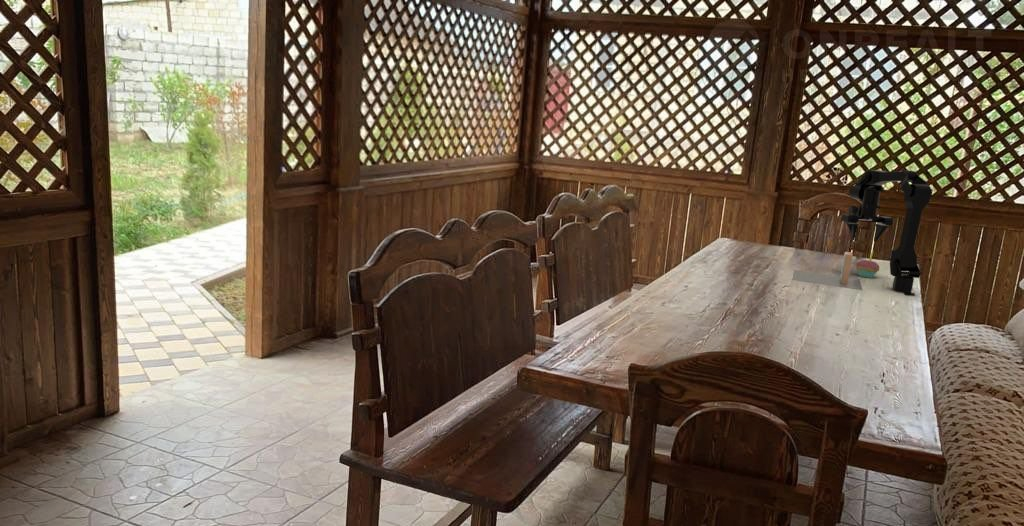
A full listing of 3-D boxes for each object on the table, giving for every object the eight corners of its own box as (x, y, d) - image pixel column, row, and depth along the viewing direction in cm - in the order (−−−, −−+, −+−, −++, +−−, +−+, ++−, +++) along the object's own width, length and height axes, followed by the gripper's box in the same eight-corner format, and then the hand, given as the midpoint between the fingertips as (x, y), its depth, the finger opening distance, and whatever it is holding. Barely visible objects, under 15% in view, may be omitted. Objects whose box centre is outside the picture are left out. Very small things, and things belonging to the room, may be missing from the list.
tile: (846, 280, 281) (851, 252, 279) (847, 284, 275) (852, 255, 272) (839, 279, 282) (844, 251, 279) (840, 283, 276) (845, 254, 273)
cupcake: (881, 281, 288) (887, 251, 286) (859, 279, 288) (865, 249, 286) (871, 276, 297) (876, 247, 294) (850, 274, 297) (855, 245, 294)
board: (859, 281, 285) (859, 279, 285) (862, 292, 267) (862, 290, 267) (793, 271, 294) (793, 269, 294) (791, 281, 276) (792, 279, 276)
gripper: (881, 200, 299) (875, 238, 302) (837, 198, 297) (831, 236, 300) (897, 204, 288) (890, 243, 291) (851, 201, 286) (845, 241, 289)
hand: (863, 241), depth 293 cm, fingers open, 9 cm apart
